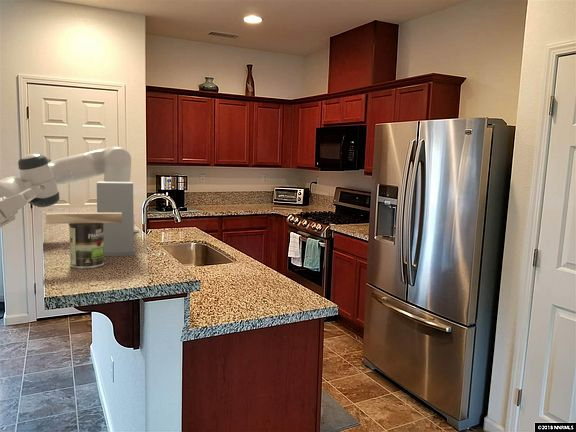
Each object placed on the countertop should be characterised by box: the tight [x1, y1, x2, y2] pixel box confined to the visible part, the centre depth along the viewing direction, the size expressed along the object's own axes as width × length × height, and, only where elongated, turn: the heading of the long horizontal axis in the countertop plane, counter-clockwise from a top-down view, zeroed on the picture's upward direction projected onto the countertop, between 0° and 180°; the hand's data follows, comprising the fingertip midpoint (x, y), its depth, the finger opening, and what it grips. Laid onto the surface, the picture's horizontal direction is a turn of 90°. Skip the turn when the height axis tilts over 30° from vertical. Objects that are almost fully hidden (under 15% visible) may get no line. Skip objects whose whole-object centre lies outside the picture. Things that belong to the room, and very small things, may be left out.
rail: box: [45, 211, 122, 225], centre depth 144 cm, size 4×22×3 cm, turn 109°
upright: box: [96, 180, 136, 257], centre depth 162 cm, size 9×13×26 cm
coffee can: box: [68, 223, 105, 270], centre depth 145 cm, size 10×10×14 cm
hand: (42, 187), depth 141 cm, fingers open, 8 cm apart
